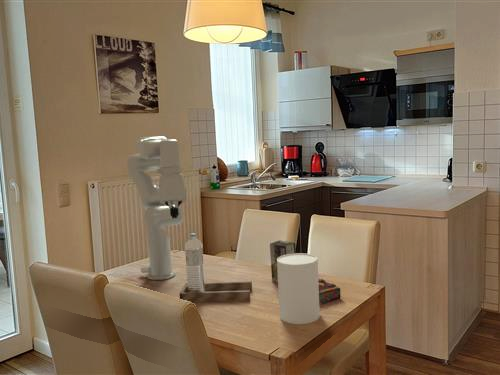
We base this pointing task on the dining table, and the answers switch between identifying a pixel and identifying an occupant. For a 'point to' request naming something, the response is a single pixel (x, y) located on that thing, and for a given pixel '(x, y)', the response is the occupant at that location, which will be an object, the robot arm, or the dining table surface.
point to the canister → (298, 288)
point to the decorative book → (327, 292)
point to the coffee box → (279, 254)
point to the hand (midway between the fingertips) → (174, 217)
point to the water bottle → (194, 265)
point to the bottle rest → (219, 292)
